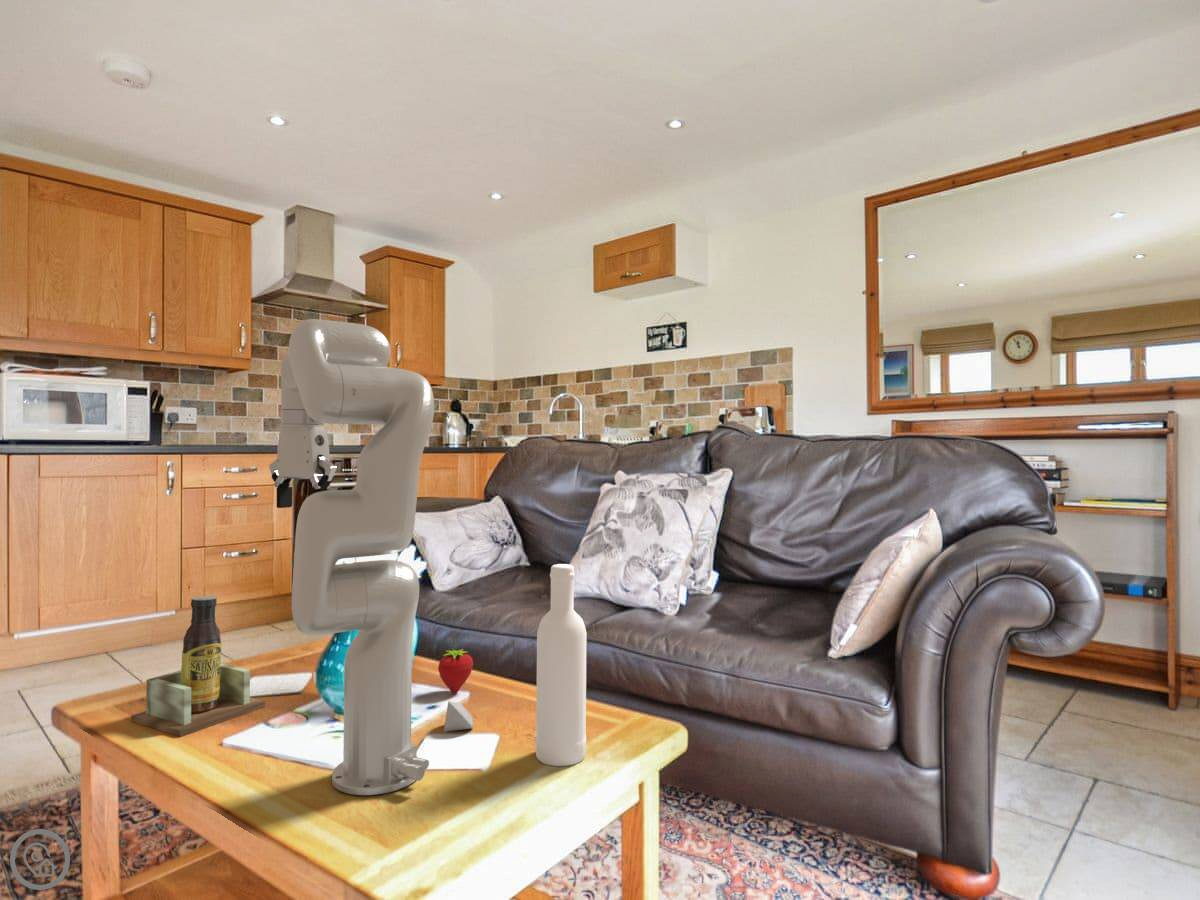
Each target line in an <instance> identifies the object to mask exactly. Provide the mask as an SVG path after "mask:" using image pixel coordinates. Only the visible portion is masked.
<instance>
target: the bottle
mask: <svg viewBox="0 0 1200 900" xmlns="http://www.w3.org/2000/svg"><path fill="white" fill-rule="evenodd" d="M549 577H550V578H549V579H550V609H549V611H548V612H546V614H544V616H543V617H542V618H541V620H540V623H539V625H538V628H537V630H536V631H537V632H536V706H535V707H536V709H535V711H536V713H535V714H536V720H535V723H536V724H535V729H536V730H535V731H536V733H535V756H536V758H537V760H538V761H539V762H541V763H542V764H544V765H548V766H553V767H569V766H574V765H576V764H578V763H581V761H583V760H584V759H585V757H586V750H587V749H586V747H587V733H586V732H587V731H586V730H587V728H586V724H587V723H586V722H587V635H588V634H587V630H586V625H585V623H584V620H583V618H582V617H581V615H580V614H578V613H577V612H576V611H575V610H574V609H575V607H574V606H575V603H574V602H575V601H574V598H575V597H574V596H575V595H574V594H575V593H574V590H575V589H574V588H575V587H574V586H575V583H574V582H575V580H574V579H575V577H576V574H575V567H574V566H573V565H572V564H569V563H557V564H553V565H552V566H551V567H550V573H549Z"/></svg>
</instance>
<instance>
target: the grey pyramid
mask: <svg viewBox="0 0 1200 900" xmlns="http://www.w3.org/2000/svg"><path fill="white" fill-rule="evenodd" d="M470 729H474V719H473V715H471V713H470V712H469V711H468V709H466V708H465V707H464V705H462V704H461V702H455V701H450V700H449V701H448V702H447V706H446V714H445V722H444V728H443V732H444V733H445V732H454V731H462V730H470Z"/></svg>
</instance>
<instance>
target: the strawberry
mask: <svg viewBox="0 0 1200 900" xmlns="http://www.w3.org/2000/svg"><path fill="white" fill-rule="evenodd" d="M454 648H455V647H453V648H452V650H445V652H446V653H444V654H442V656H443V658H442V659H440V661H439V662H438V663H439V664H438V667H437V670H438V673H439V676H440V678H441V681H442V682H443V683H444V685H445V686H446V687H447V688H448V690H449V691H450V692H451V693H453V694H457V693H459V691H460V690H461V688H462V687H463V685H464V684H465V683H466V681H467V679H468V678H469V677H470V676H471V674H472V671H473V668H474V667H473V666H474V659H473V658H472V657H471V655H470V654H468V653H469V651H466V650H465V651H464V648H462V649H459V650H455V649H454Z"/></svg>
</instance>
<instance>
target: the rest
mask: <svg viewBox="0 0 1200 900" xmlns="http://www.w3.org/2000/svg"><path fill="white" fill-rule="evenodd" d="M145 693H146V696H145V697H146V701H145V702H146V703H145V705H146V709H145V710H146V711H142V712H138V713H135V714H133V715H130V716H131V717H130V718H131V722H132V723H135V724H138V725H142V726H144V727H148V728H151V729H155V730H158V731H161V732H163V733H167V734H170V735H174V736H177V737H180V738H181V737H184V736H187V735H189V734H193V733H196V732H198V731H201V730H203V729H207V728H209V727H213V726H214V725H218V724H220V723H221V724H222V723H223V722H226V721H229V720H231V719H235V718H238V717H239V716H243V715H246V714H248V713H252V712H253V711H257V710H259V709H262V708H265V707H266V701H265V700H261V699H257V698H253V697H251V695H250V693H251V669H247V668H244V667H239V666H234V665H230V664H225V663H221V664H220V691H219V698H218V704H217V706H216V707H215V708H213V709H210V710H208V711H204V712H197V713H191V687H187V686H183V685H181V670H176V671H172V672H169V673H165V674H163V675H158V676H155V677H152V678H148V679H146V692H145Z"/></svg>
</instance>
